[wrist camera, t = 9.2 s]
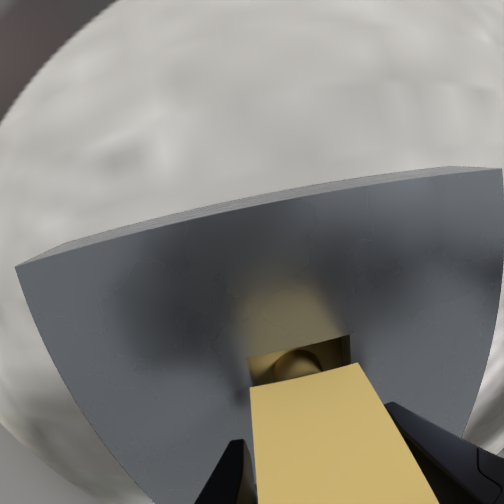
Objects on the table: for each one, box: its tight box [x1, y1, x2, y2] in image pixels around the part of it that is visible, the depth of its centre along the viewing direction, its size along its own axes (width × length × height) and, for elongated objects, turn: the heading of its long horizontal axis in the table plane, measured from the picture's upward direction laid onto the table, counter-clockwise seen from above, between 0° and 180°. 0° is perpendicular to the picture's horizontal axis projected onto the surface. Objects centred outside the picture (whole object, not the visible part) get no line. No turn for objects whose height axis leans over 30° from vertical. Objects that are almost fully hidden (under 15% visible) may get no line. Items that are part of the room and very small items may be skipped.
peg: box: [249, 337, 439, 504], centre depth 7 cm, size 4×4×10 cm
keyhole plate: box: [15, 166, 504, 504], centre depth 11 cm, size 16×20×3 cm
